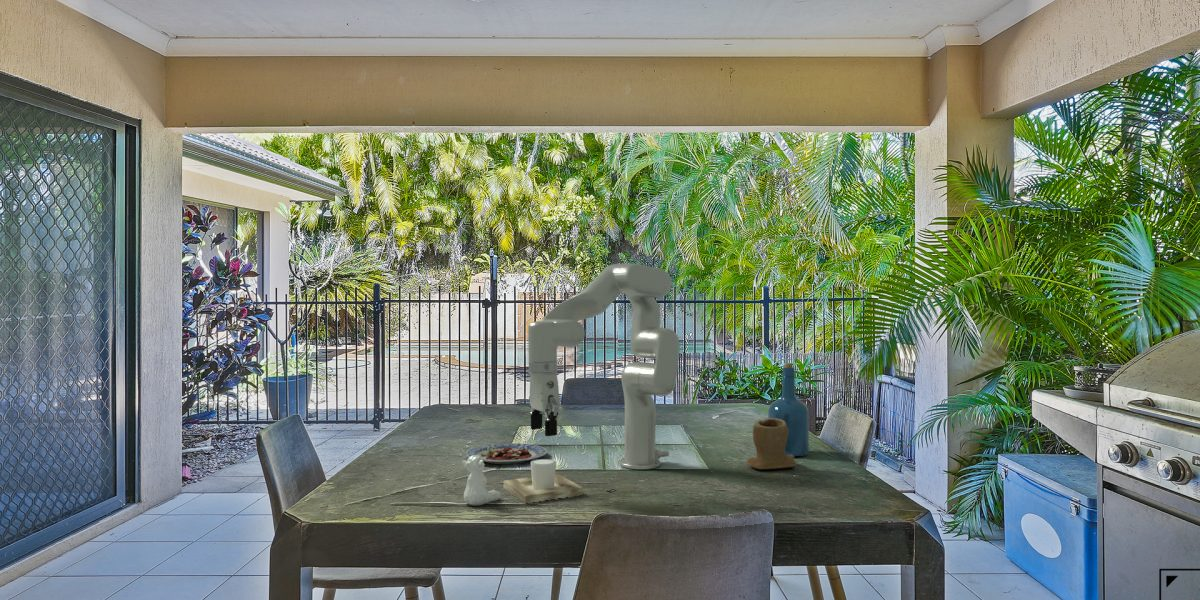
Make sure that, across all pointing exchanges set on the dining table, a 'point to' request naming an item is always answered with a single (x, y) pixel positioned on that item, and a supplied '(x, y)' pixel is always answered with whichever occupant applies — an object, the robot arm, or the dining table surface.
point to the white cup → (543, 473)
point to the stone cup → (771, 445)
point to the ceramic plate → (507, 453)
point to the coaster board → (528, 495)
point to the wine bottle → (792, 414)
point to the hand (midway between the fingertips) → (543, 432)
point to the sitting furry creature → (477, 483)
